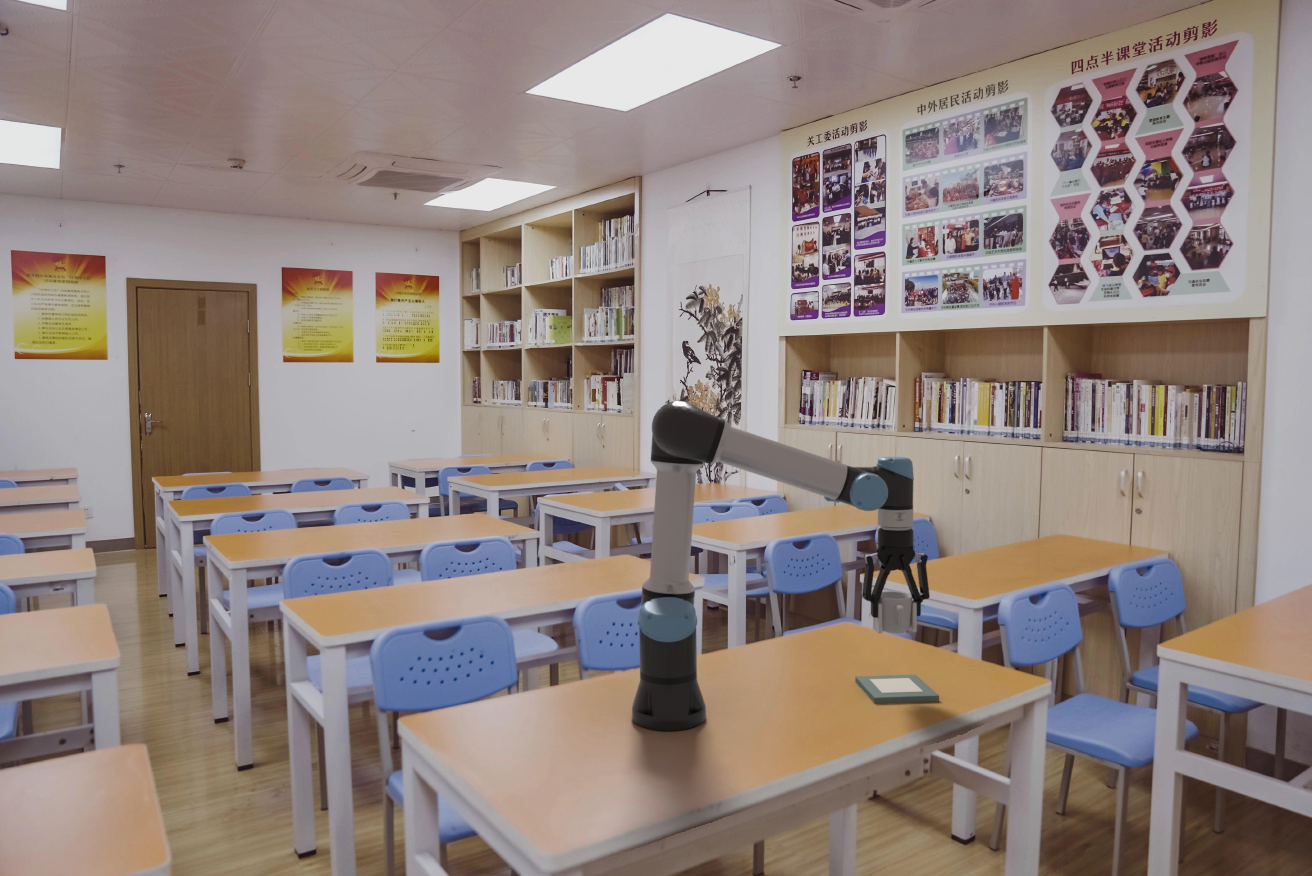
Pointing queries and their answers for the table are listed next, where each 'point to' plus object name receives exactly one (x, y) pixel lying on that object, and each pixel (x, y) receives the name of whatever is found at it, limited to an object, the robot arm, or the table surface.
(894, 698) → the board
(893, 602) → the cup
